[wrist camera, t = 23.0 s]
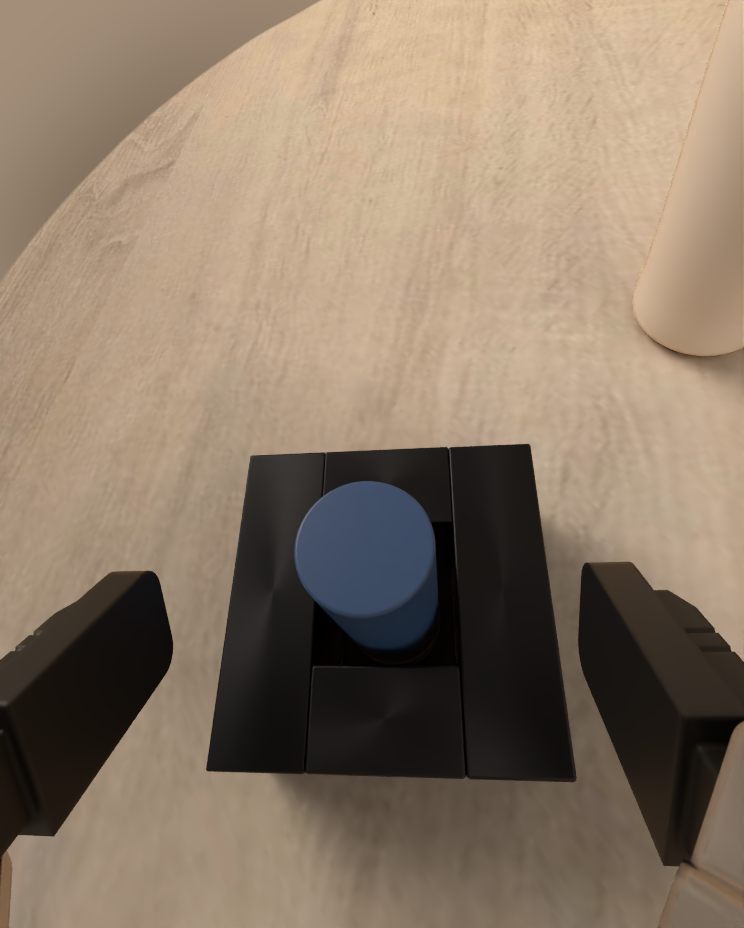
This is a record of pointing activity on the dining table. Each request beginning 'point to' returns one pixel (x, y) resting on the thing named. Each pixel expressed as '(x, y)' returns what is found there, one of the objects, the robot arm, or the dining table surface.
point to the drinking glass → (703, 217)
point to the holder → (396, 686)
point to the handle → (373, 569)
